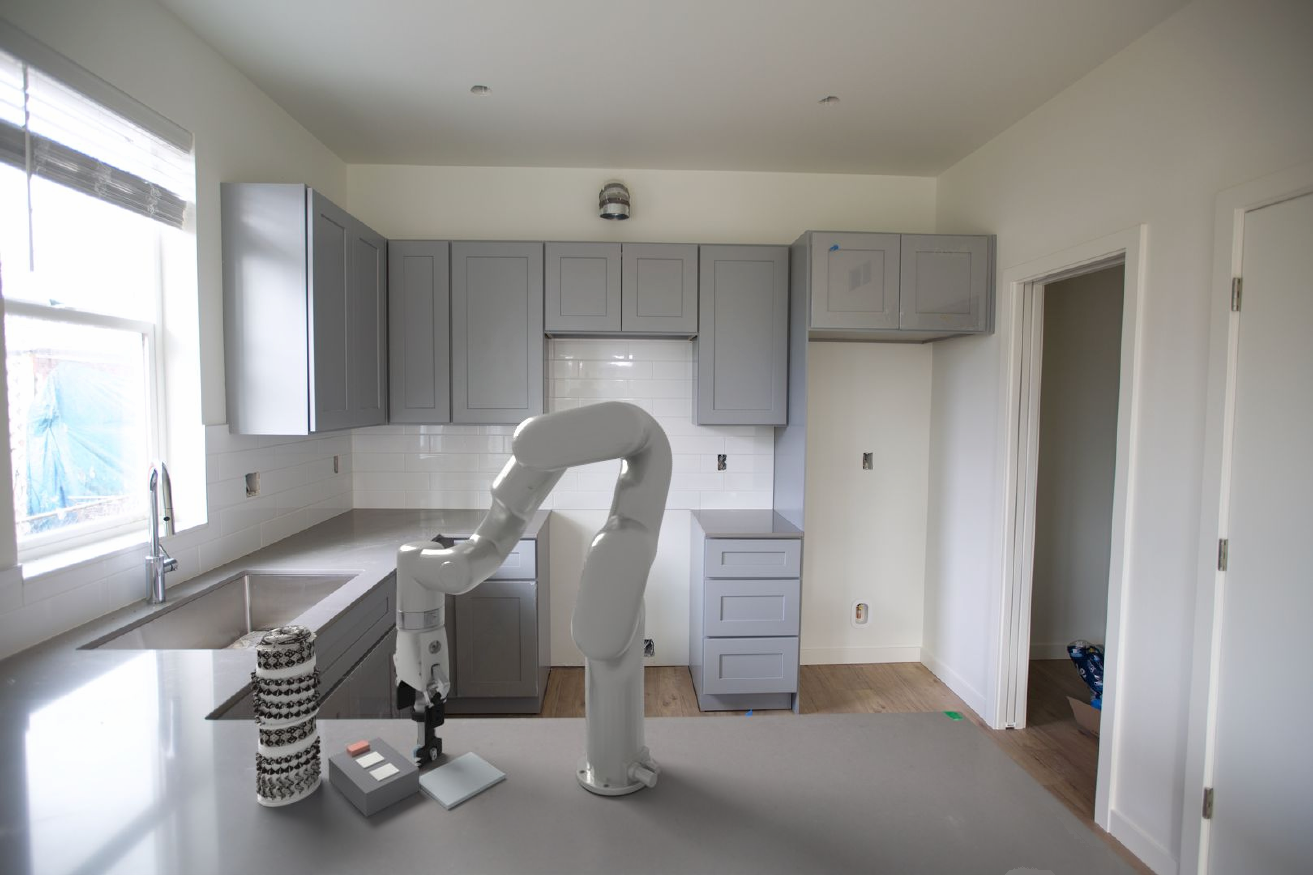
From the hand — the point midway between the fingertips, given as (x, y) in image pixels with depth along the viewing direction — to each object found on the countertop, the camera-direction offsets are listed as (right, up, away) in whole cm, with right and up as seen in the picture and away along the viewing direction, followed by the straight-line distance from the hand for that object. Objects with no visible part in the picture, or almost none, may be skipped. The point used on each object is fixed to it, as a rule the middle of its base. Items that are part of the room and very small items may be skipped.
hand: (419, 716), depth 98 cm
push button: (+1, -8, 0) cm, 8 cm away
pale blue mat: (+9, -8, -5) cm, 13 cm away
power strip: (-5, -8, -6) cm, 11 cm away
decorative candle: (-17, -8, -7) cm, 20 cm away
